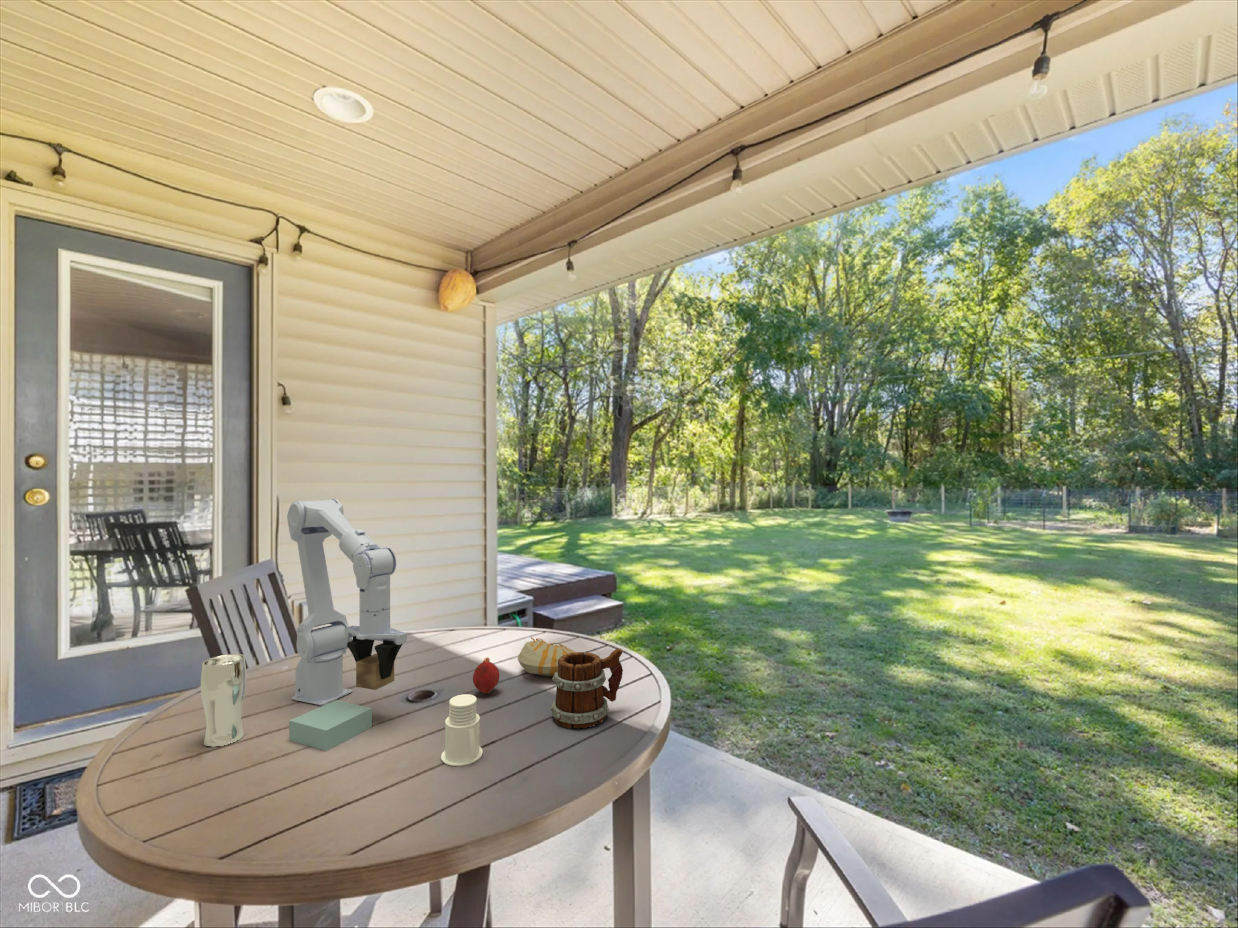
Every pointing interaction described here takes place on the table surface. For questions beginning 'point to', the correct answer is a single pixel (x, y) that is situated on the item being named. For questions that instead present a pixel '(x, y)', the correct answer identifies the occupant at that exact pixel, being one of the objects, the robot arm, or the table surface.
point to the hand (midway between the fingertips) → (375, 675)
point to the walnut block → (371, 673)
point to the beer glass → (223, 698)
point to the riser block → (330, 724)
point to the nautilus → (542, 657)
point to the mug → (584, 688)
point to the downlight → (462, 732)
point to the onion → (486, 676)
